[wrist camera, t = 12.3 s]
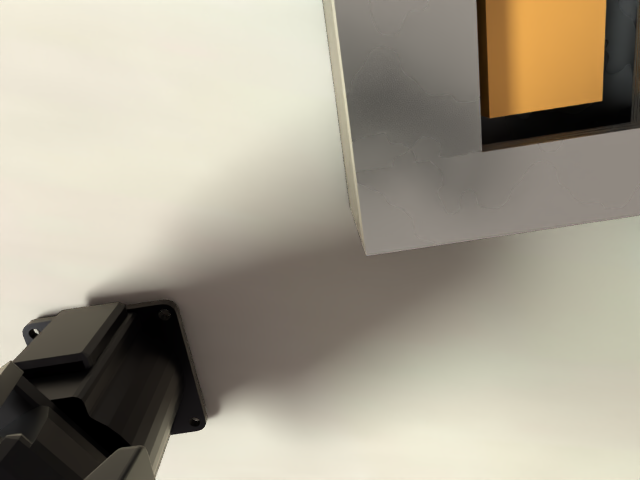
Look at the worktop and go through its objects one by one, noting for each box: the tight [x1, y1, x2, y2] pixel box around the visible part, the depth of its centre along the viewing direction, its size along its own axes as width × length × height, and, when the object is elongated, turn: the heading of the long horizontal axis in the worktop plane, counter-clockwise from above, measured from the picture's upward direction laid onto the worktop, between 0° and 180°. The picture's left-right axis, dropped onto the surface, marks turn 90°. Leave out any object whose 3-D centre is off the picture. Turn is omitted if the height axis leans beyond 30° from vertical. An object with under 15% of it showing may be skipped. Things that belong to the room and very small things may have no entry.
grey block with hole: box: [322, 0, 640, 256], centre depth 16 cm, size 10×12×6 cm
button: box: [476, 0, 606, 118], centre depth 16 cm, size 3×3×4 cm
